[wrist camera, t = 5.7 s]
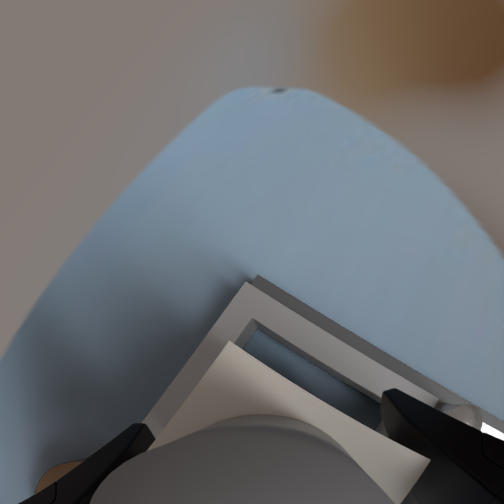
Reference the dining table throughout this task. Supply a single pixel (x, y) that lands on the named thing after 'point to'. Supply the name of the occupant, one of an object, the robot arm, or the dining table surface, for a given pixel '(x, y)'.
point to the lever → (469, 417)
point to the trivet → (56, 474)
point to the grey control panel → (302, 354)
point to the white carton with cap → (262, 448)
